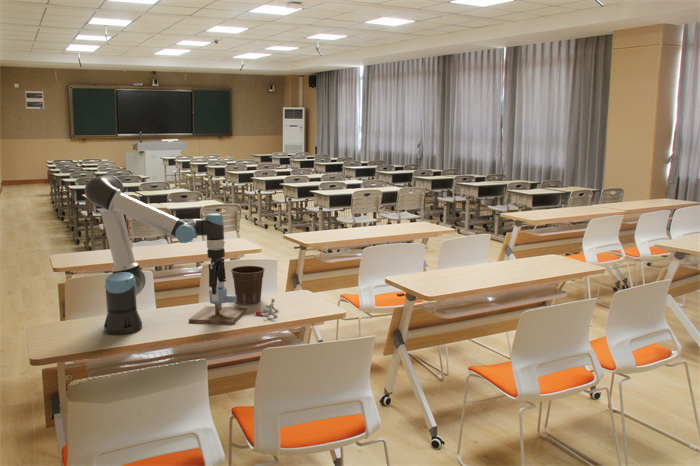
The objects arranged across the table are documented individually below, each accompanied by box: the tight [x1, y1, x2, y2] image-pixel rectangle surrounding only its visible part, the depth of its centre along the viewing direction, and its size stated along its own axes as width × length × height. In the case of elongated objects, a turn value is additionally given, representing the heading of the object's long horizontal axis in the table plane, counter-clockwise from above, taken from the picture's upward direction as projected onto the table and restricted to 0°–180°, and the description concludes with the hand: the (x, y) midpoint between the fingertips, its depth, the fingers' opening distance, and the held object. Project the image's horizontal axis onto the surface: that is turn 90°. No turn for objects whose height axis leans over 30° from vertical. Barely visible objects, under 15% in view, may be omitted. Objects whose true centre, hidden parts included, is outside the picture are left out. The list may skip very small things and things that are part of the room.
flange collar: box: [208, 286, 238, 305], centre depth 265 cm, size 12×7×6 cm, turn 82°
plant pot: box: [230, 265, 266, 305], centre depth 291 cm, size 16×16×16 cm
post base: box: [188, 303, 248, 325], centre depth 267 cm, size 20×20×10 cm
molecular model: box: [254, 298, 279, 318], centre depth 270 cm, size 14×8×10 cm
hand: (218, 298), depth 266 cm, fingers closed on flange collar, 7 cm apart
